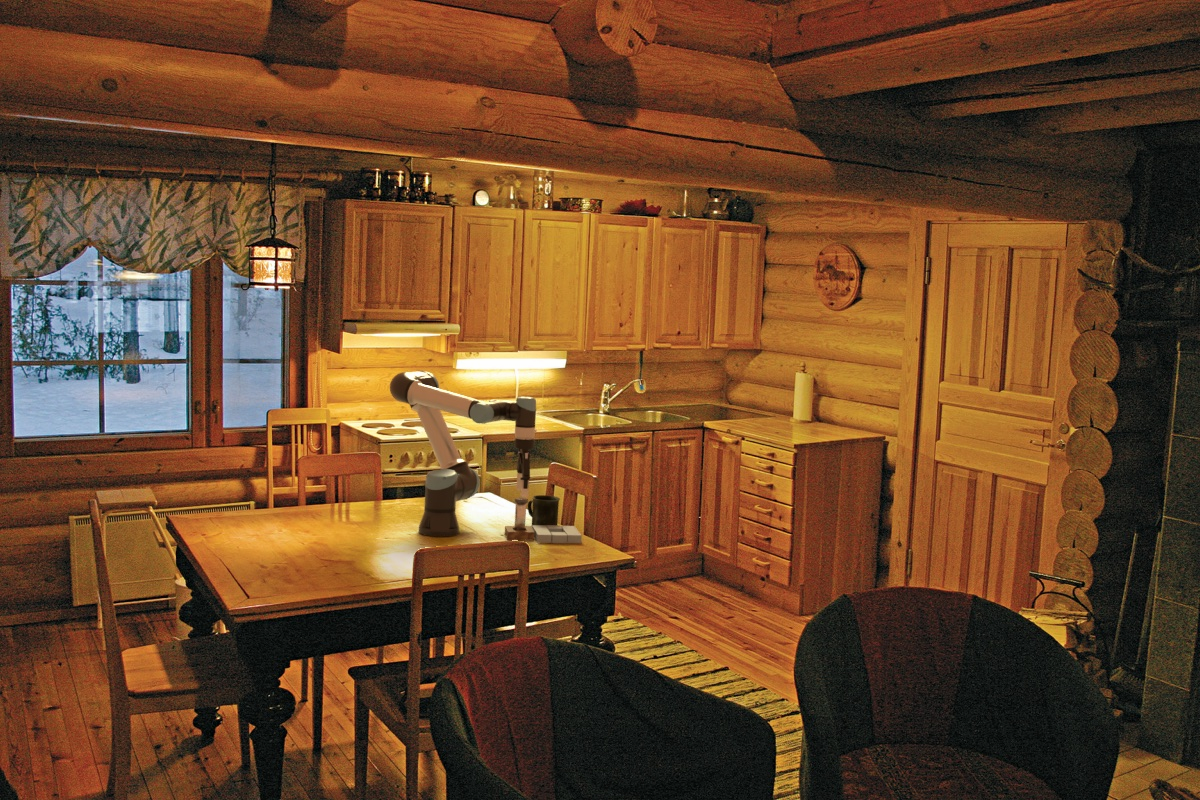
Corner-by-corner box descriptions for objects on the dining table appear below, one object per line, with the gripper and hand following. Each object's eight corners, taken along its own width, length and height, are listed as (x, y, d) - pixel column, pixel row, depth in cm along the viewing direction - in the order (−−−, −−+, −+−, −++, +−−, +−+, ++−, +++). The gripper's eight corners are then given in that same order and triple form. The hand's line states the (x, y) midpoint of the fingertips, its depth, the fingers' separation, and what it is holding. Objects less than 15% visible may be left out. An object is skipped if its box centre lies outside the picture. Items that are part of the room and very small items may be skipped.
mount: (507, 539, 399) (508, 531, 399) (504, 533, 409) (505, 525, 409) (534, 540, 401) (534, 532, 401) (530, 534, 411) (531, 526, 411)
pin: (513, 538, 402) (515, 500, 401) (511, 535, 407) (513, 497, 405) (526, 538, 403) (528, 500, 402) (524, 535, 408) (527, 497, 406)
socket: (537, 542, 397) (537, 534, 397) (531, 532, 413) (531, 525, 413) (581, 543, 400) (581, 535, 400) (573, 533, 417) (574, 525, 416)
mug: (546, 532, 416) (547, 501, 415) (518, 525, 425) (520, 495, 424) (563, 528, 424) (565, 498, 423) (536, 521, 433) (538, 492, 432)
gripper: (539, 442, 390) (536, 500, 392) (530, 433, 414) (527, 487, 416) (518, 442, 388) (516, 499, 390) (511, 433, 413) (508, 487, 415)
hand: (522, 493), depth 403 cm, fingers open, 13 cm apart
